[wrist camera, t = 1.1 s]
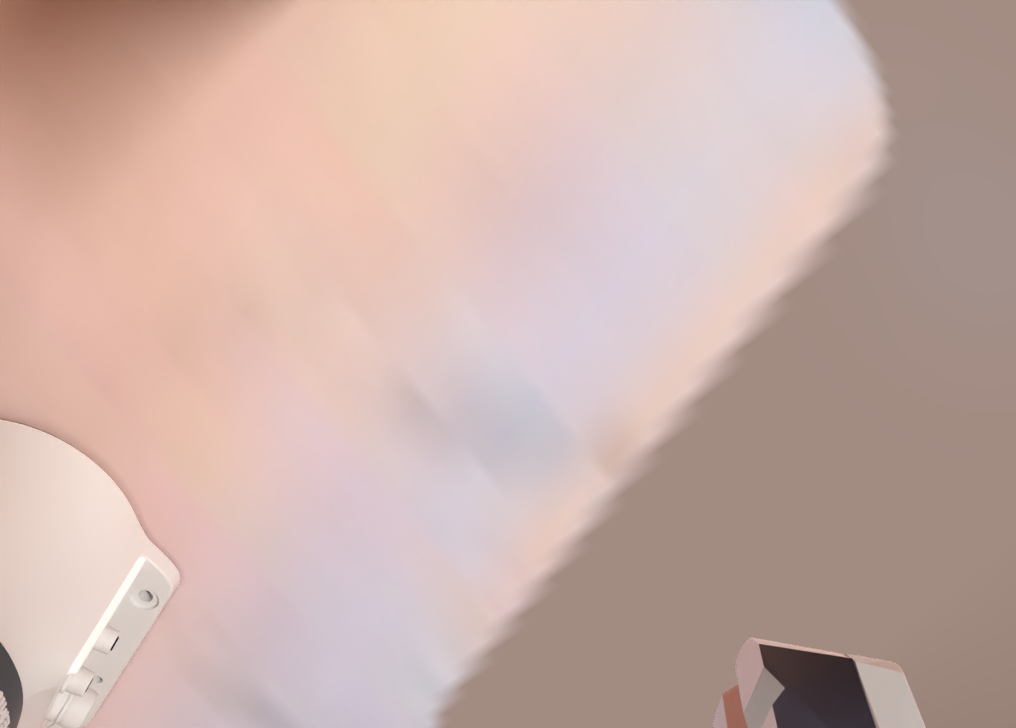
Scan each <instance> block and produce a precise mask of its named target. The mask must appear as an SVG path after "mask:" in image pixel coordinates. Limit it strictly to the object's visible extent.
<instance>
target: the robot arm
mask: <svg viewBox="0 0 1016 728" xmlns="http://www.w3.org/2000/svg"><path fill="white" fill-rule="evenodd" d="M179 582H180V575H179V572H178V570H177V568H176V567H175V566H174V564H173V563H172V562H171V561H170V560H169V559H168V558H167V557H166V556H165V555H164V554H163V553H162V552H161V551H160V550H159V549H158V548H157V547H156V546H155V545H154V544H153V543H152V542H151V541H150V540H149V539H148V538H147V536H146V535H145V533H144V531H143V530H142V528H141V526H140V524H139V521H138V519H137V517H136V515H135V513H134V511H133V509H132V507H131V505H130V503H129V502H128V500H127V499H126V497H125V495H124V494H123V493H122V491H121V490H120V489H119V487H118V486H117V485H116V484H115V482H114V481H113V480H112V479H111V478H110V477H109V476H108V475H107V474H106V473H105V472H104V471H103V470H102V469H101V468H100V467H99V466H98V465H97V464H95V463H94V462H93V461H92V460H91V459H89V458H88V457H87V456H85V455H84V454H83V453H81V452H80V451H78V450H77V449H75V448H74V447H72V446H70V445H69V444H67V443H65V442H64V441H62V440H60V439H58V438H56V437H54V436H52V435H50V434H47V433H45V432H43V431H40V430H38V429H35V428H32V427H29V426H26V425H23V424H19V423H15V422H10V421H6V420H0V728H80V727H83V726H85V725H87V724H88V723H89V722H90V720H91V719H92V718H93V716H94V715H95V714H96V712H97V711H98V709H99V708H100V706H101V705H102V703H103V702H104V700H105V699H106V697H107V696H108V694H109V692H110V691H111V689H112V688H113V686H114V685H115V683H116V682H117V680H118V678H119V677H120V675H121V674H122V672H123V671H124V669H125V668H126V666H127V664H128V663H129V661H130V660H131V658H132V657H133V655H134V654H135V652H136V650H137V649H138V647H139V646H140V644H141V643H142V641H143V640H144V638H145V636H146V635H147V633H148V632H149V630H150V629H151V627H152V625H153V624H154V622H155V621H156V619H157V618H158V616H159V615H160V613H161V611H162V610H163V608H164V607H165V605H166V604H167V602H168V601H169V599H170V597H171V596H172V594H173V593H174V591H175V590H176V588H177V586H178V585H179ZM147 591H149V592H150V593H149V592H147ZM735 669H736V675H737V680H738V685H737V686H735V687H733V688H732V689H730V690H729V691H727V692H725V693H724V694H722V697H721V700H720V702H719V705H718V708H717V711H716V713H715V716H714V721H713V728H926V727H925V725H924V722H923V720H922V717H921V715H920V712H919V710H918V707H917V705H916V702H915V700H914V698H913V695H912V693H911V690H910V687H909V685H908V683H907V680H906V677H905V675H904V673H903V670H902V669H901V668H900V667H899V666H898V665H897V664H896V663H895V662H893V661H887V660H880V659H875V658H869V657H863V656H857V655H851V654H845V655H843V654H840V653H836V652H830V651H824V650H819V649H813V648H807V647H802V646H796V645H791V644H785V643H780V642H774V641H769V640H763V639H757V638H752V637H750V638H749V639H748V640H747V641H746V642H745V643H744V645H743V646H742V647H741V650H740V652H739V655H738V657H737V659H736V662H735Z"/></svg>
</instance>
